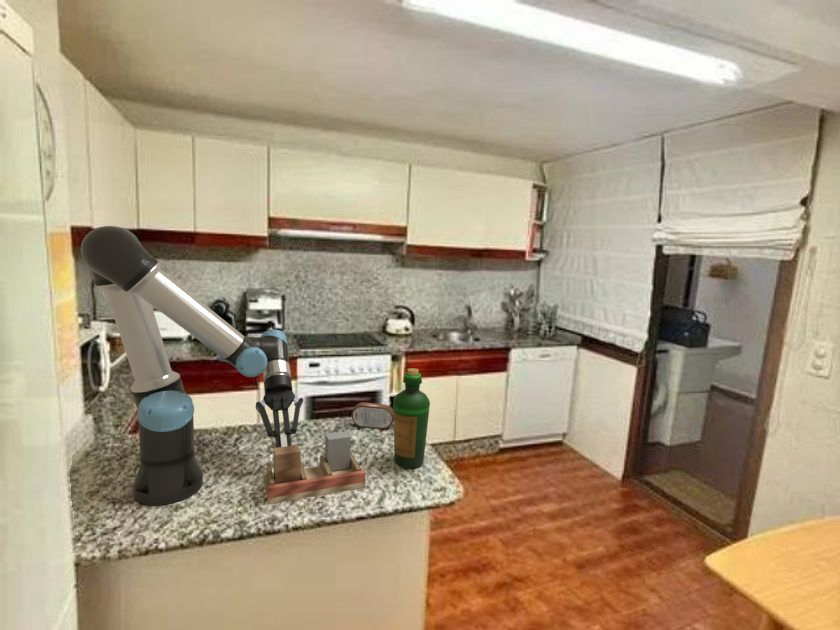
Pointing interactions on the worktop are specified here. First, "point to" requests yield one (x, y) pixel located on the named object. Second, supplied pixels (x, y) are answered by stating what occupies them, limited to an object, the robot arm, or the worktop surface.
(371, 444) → the worktop surface
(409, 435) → the bottle
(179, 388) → the robot arm
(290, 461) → the brown box
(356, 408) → the tin
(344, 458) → the grey block
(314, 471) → the wooden compartment tray
